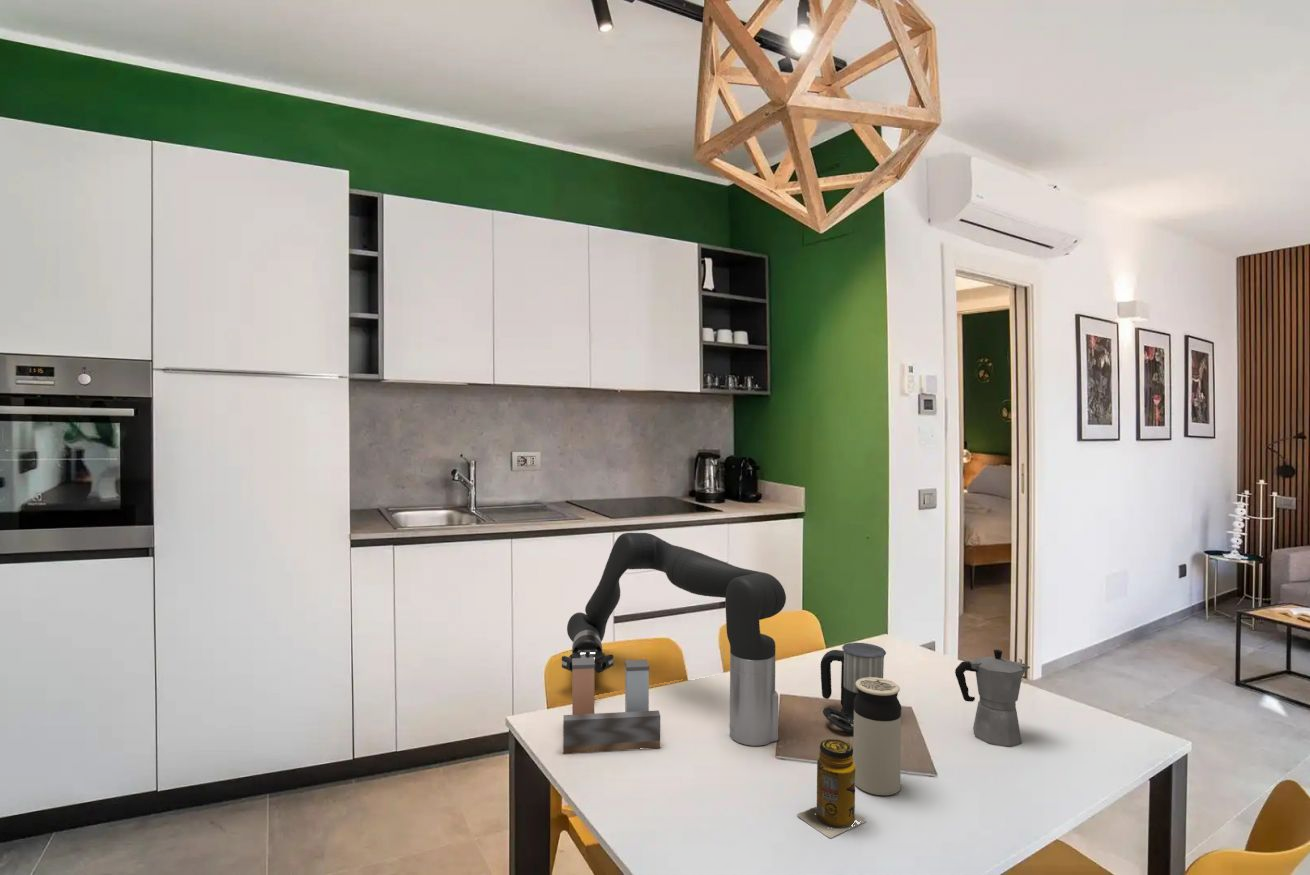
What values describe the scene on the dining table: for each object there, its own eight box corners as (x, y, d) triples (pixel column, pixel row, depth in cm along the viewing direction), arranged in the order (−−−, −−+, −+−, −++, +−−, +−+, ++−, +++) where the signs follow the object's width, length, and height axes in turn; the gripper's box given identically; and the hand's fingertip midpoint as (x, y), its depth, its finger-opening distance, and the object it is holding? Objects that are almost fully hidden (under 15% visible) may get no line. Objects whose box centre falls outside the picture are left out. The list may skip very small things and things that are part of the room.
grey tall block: (646, 719, 143) (646, 659, 142) (648, 728, 139) (649, 666, 138) (624, 720, 142) (625, 660, 142) (626, 729, 138) (626, 667, 138)
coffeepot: (1015, 726, 144) (1016, 642, 144) (1042, 747, 135) (1043, 657, 135) (944, 726, 144) (945, 642, 143) (966, 748, 134) (967, 658, 134)
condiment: (866, 821, 109) (867, 748, 109) (830, 839, 105) (831, 762, 104) (831, 800, 115) (832, 731, 115) (796, 816, 111) (796, 744, 111)
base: (651, 717, 148) (651, 688, 148) (660, 748, 134) (660, 715, 134) (564, 722, 145) (564, 692, 145) (563, 753, 131) (563, 720, 131)
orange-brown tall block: (593, 717, 144) (594, 657, 143) (594, 725, 140) (594, 664, 139) (572, 718, 143) (572, 658, 143) (572, 727, 139) (572, 665, 139)
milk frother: (880, 707, 154) (880, 642, 153) (896, 739, 138) (897, 667, 138) (816, 704, 155) (816, 640, 155) (825, 735, 140) (825, 664, 139)
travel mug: (894, 802, 115) (895, 697, 115) (847, 788, 119) (848, 687, 119) (904, 781, 122) (905, 682, 121) (860, 769, 126) (860, 673, 126)
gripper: (560, 635, 170) (558, 659, 152) (613, 633, 171) (617, 657, 154) (560, 664, 170) (558, 692, 153) (613, 663, 171) (617, 690, 154)
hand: (588, 674), depth 153 cm, fingers closed
